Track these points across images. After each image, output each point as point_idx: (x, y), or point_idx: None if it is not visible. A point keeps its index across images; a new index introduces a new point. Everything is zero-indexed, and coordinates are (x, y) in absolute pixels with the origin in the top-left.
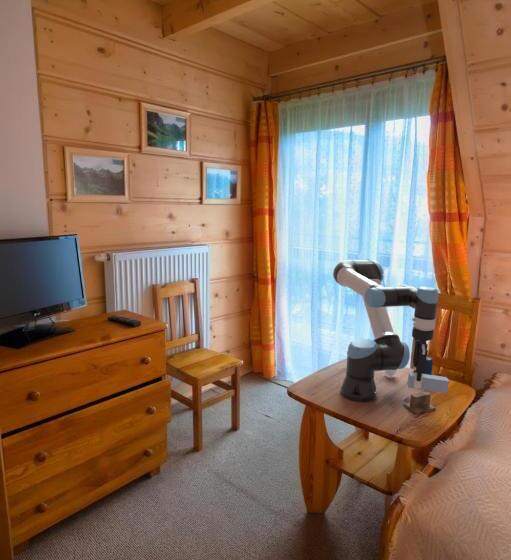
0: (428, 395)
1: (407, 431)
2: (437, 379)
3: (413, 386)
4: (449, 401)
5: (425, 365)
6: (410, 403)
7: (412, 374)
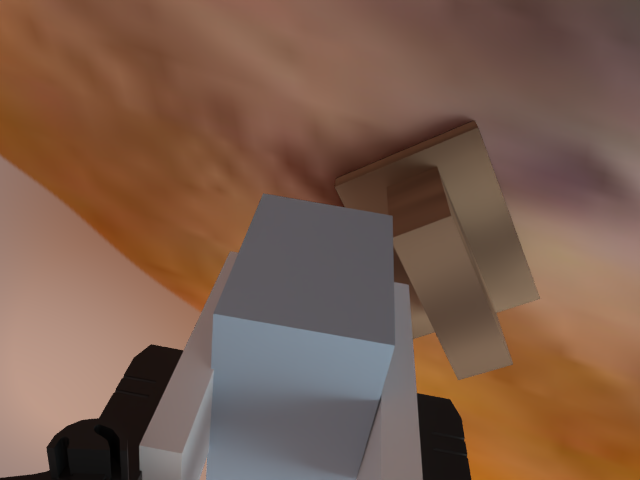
0: (447, 355)
1: (40, 19)
2: None
3: (234, 260)
4: (530, 442)
5: None
6: (435, 179)
7: (279, 362)
